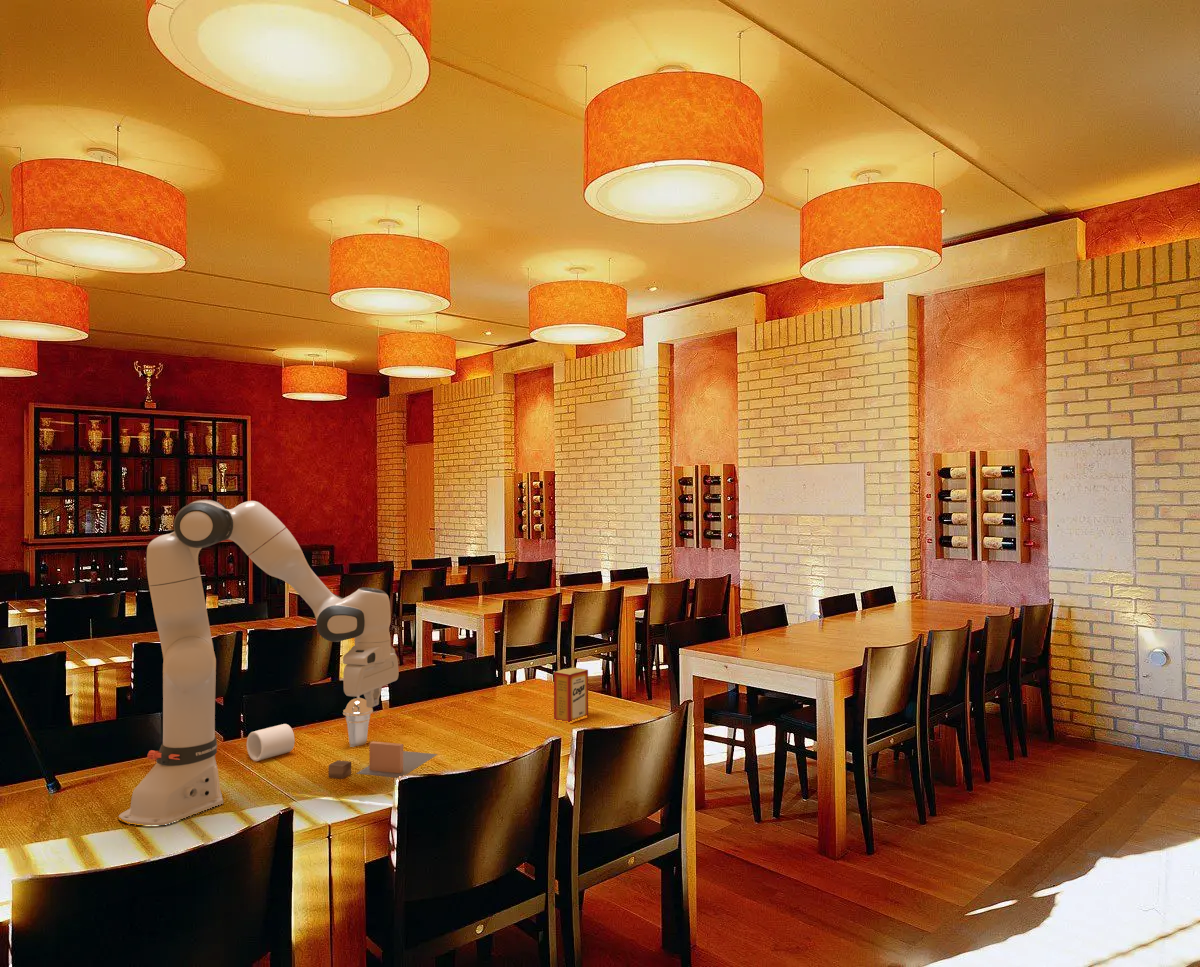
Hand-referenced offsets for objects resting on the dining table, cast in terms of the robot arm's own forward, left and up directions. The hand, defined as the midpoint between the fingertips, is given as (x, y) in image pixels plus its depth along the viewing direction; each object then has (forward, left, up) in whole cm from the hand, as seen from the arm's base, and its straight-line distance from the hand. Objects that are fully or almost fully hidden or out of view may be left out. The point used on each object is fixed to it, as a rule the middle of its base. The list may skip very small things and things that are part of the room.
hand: (372, 706), depth 207 cm
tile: (+6, 0, -18) cm, 19 cm away
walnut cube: (0, +9, -19) cm, 21 cm away
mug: (+11, +41, -19) cm, 47 cm away
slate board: (+12, 0, -19) cm, 23 cm away
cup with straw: (+25, +21, -19) cm, 38 cm away
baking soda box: (+69, -30, -19) cm, 78 cm away
